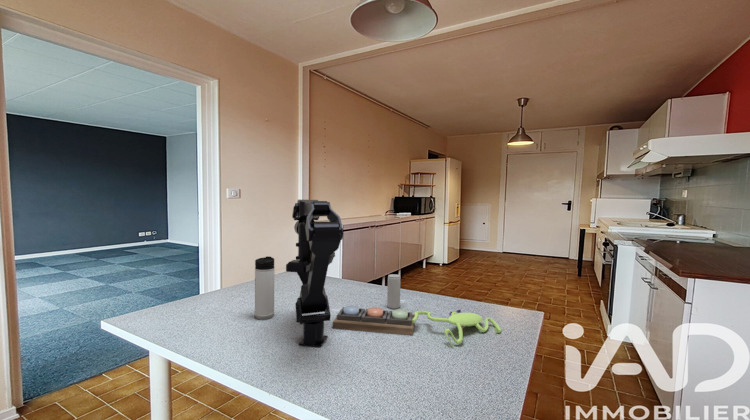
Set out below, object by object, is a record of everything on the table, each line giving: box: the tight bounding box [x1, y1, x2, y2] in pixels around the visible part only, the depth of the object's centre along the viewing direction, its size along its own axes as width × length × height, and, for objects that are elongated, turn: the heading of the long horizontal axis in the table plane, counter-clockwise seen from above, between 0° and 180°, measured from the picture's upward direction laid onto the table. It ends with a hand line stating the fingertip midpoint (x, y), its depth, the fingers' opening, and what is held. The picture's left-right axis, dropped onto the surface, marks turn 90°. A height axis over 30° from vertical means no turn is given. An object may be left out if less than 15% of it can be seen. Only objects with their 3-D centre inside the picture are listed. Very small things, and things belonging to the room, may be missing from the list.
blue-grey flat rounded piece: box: [343, 305, 359, 316], centre depth 107 cm, size 5×5×2 cm
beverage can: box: [386, 273, 401, 310], centre depth 123 cm, size 5×5×12 cm
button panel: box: [332, 306, 415, 336], centre depth 106 cm, size 12×25×4 cm, turn 80°
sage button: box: [391, 308, 409, 320], centre depth 104 cm, size 5×5×2 cm
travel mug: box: [254, 256, 275, 321], centre depth 111 cm, size 6×7×20 cm
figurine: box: [411, 309, 502, 349], centre depth 103 cm, size 18×27×6 cm
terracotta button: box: [367, 307, 383, 318], centre depth 106 cm, size 5×5×2 cm
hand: (307, 288), depth 103 cm, fingers closed
